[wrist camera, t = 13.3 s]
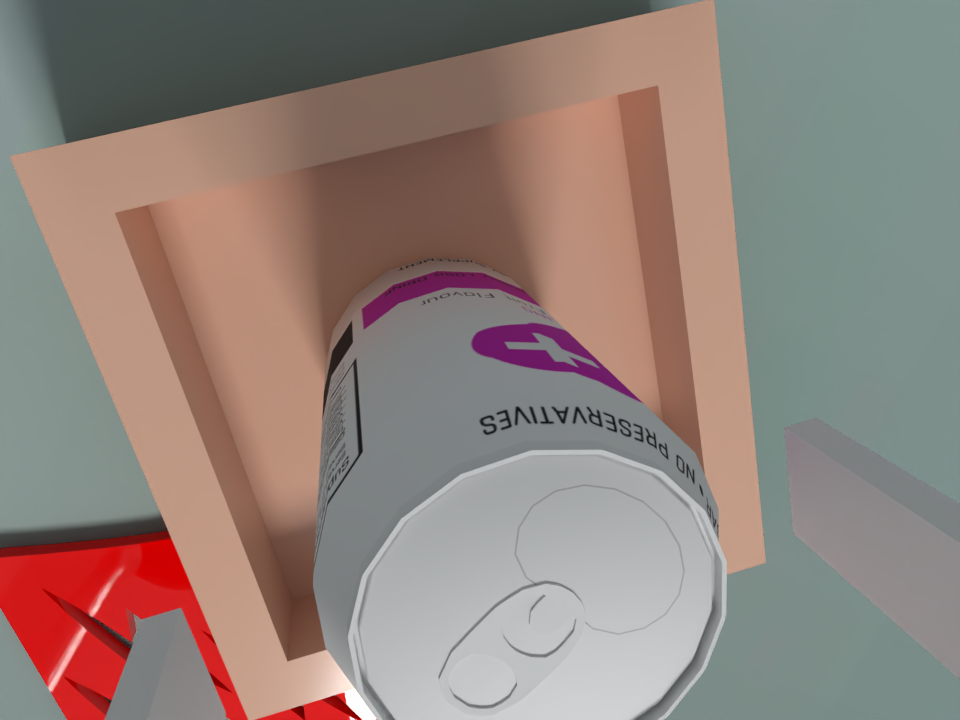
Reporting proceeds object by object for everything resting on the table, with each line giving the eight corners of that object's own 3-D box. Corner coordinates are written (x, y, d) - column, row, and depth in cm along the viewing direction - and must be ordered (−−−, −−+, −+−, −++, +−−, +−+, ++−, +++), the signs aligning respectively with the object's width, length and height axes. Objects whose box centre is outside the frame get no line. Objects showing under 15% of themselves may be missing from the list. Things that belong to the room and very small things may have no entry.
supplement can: (433, 204, 25) (548, 312, 11) (591, 355, 28) (839, 589, 14) (277, 374, 26) (208, 668, 12) (445, 504, 29) (544, 864, 15)
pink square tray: (710, 504, 33) (765, 562, 29) (261, 638, 31) (249, 721, 27) (652, 16, 26) (714, -2, 22) (67, 148, 24) (9, 156, 20)
